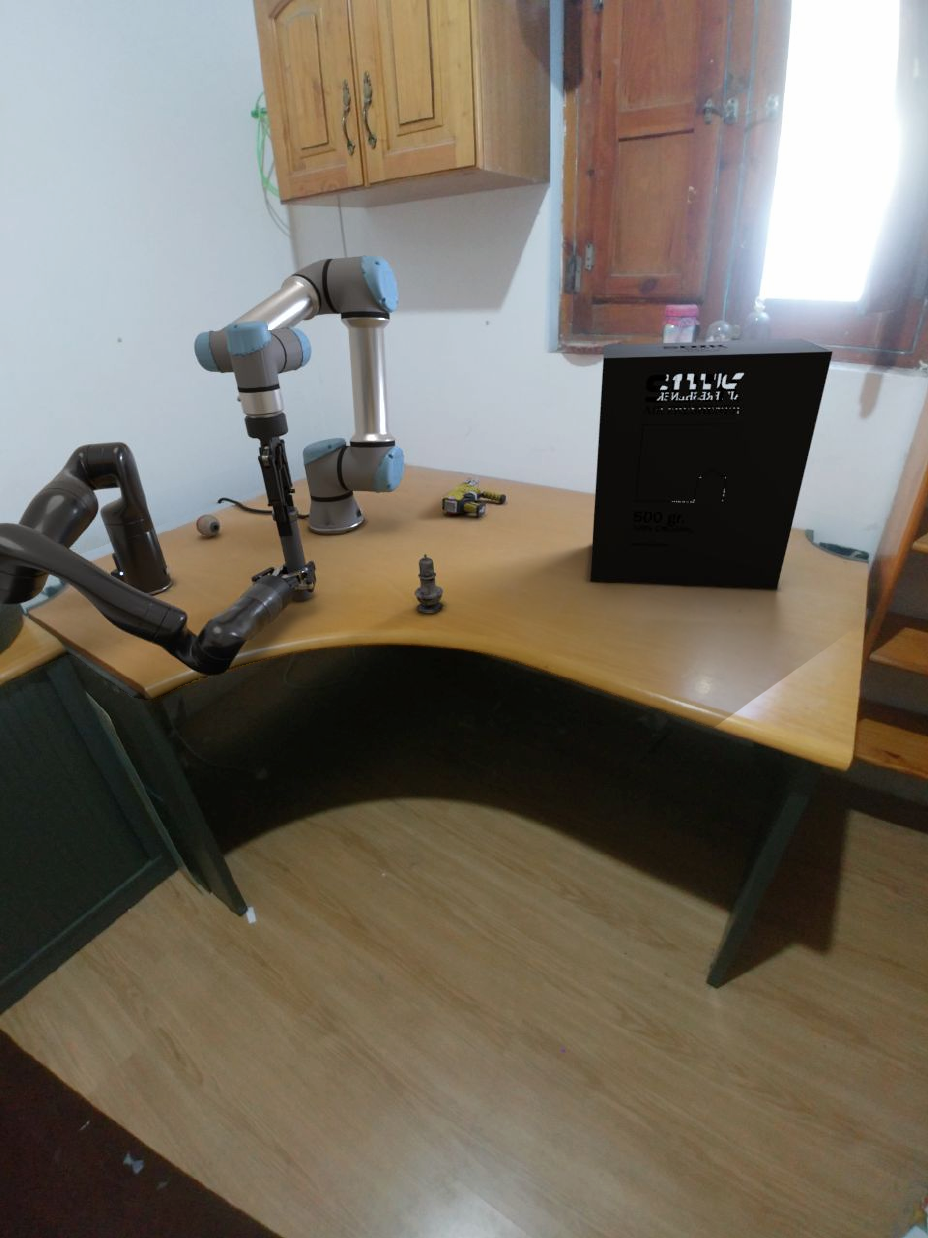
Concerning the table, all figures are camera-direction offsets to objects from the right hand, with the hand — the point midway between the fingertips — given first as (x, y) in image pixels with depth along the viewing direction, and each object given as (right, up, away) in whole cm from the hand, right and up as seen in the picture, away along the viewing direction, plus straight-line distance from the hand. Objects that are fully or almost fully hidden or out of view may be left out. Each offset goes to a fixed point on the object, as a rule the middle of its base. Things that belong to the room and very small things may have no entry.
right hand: (288, 530), depth 124 cm
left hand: (+1, -7, +7) cm, 10 cm away
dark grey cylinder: (+1, -14, +8) cm, 16 cm away
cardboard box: (+84, -6, +12) cm, 85 cm away
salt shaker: (+29, -16, +1) cm, 33 cm away
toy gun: (+41, +15, +54) cm, 69 cm away
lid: (0, +3, -2) cm, 4 cm away
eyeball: (-34, +5, +43) cm, 55 cm away
